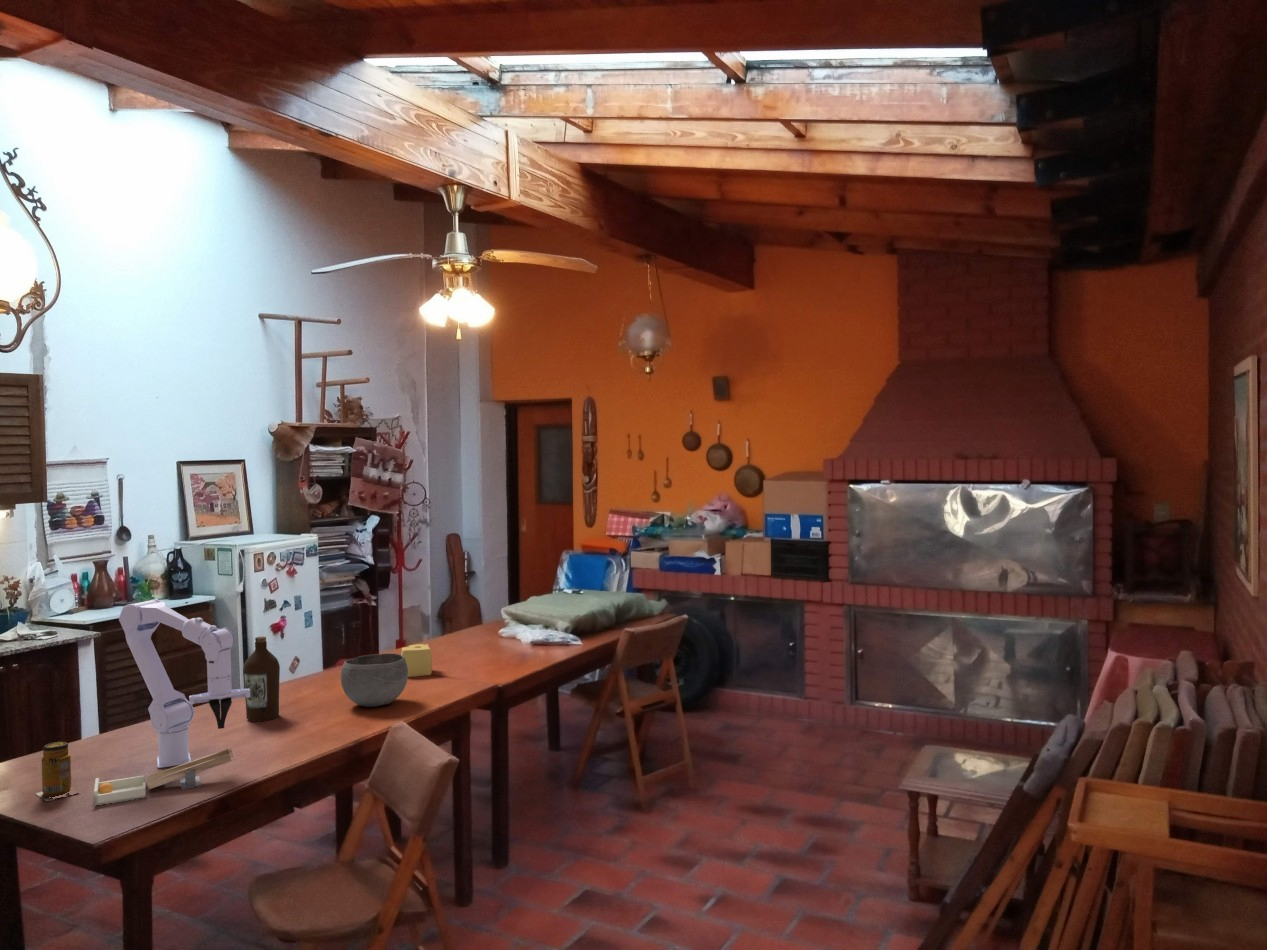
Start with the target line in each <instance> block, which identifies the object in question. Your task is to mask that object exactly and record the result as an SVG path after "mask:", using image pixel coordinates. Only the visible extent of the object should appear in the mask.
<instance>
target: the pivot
mask: <svg viewBox="0 0 1267 950" xmlns="http://www.w3.org/2000/svg"><path fill="white" fill-rule="evenodd" d="M179 781H180V789H185V790H189V788H191V789H195V788H194V787H197V788H201V787H202V783H201V777H200V775H196V773H195V770H190V771H186V777H183V778H180V779H179Z"/></svg>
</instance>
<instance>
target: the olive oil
mask: <svg viewBox="0 0 1267 950" xmlns="http://www.w3.org/2000/svg"><path fill="white" fill-rule="evenodd" d="M254 640H255V641H254V648H255V649H254V651H253V652H252V653H251V654H250V655H249V657H247V658H246V660H245V662H244V665H243V667H242V668H243V669H242V674H243V684H244V689H248V688H249V689H250V697H244V698H245V713H246V720H247V719H248V720H247V721H249V720H251V721H250V722H265V721H264V720H266V721H271V720H274V719H276V717H277V718H278V717H279V715H280V675H281V674H280V673H281V672H280V670H281V669H280V668H281V667H280V666H281V665H280V663H279V660H278V658H277V657H276V656H275V655H274V654H273V653H272V652H271V651H269V649H268V647H267V646H268V643H267V636H257V637H255V638H254ZM270 719H271V720H270Z"/></svg>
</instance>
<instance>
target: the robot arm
mask: <svg viewBox="0 0 1267 950" xmlns="http://www.w3.org/2000/svg"><path fill="white" fill-rule="evenodd" d="M118 621H119V623H120V625H121V628H122V630H123V632H124V635H125V641H126V643H127V646H128V648H129V650H130V651H131V654H132V656H133V659H134V661H135V663H136V665H137V667H138V669H139V671H140V674H141V676H142V678H143V680H144V683H145V685H146V687H147V689H148V691H149V693H150V695H151V698H152V701H151V703H150V705H149V706H148V708H147V711H148V713H149V716H150V724H151V726H152V728H153V729H154V730H155V733H157V741H158V756H157V757H156V765H157V768H158V769H161V768H168V767H176V766H179V765H182V764H185V763H188V762H191V761H192V759H191V754H190V753H191V752H189V728H188V727H189V726H190V725H191V721H193V719H194V717H195V709H194V706H193V705H195V704H200V703H208V704H209V707H210V708H211V710H212V712H213V714H214V718H215V720H216V725H217V729H218V730H220V729H221V730H222V729H225V723H226V718H227V717H228V716H227V715H228V712H229V710H230V708H231V706H232V703H233V699H240V698H245V697H250V689H249V688H248V689H245V688H238V689H237V688H236V689H233V688H232V687H233V686H232V657H231V655H232V654H231V653H232V652H231V649H232V648H233V647H234V646H235V644H236V636H235V634H234V632H233V631H232V630H231V629H229V628H228V627H221V628H218V627H217V625H215V624H213V625H211V624H209V623H207V622H206V621H204V619H203V618H202V617H193V618H190V619H188V618H187V617H186V616H184V615H182V614H180V613H179V612H177V611H176V610H174V609H172V608H170V607H169V606H168V605H167V603H166V602H164V601H161V600H159V599H157V598H153V599H150V600H146V601H142V602H135V603H129V604H126V605H124V606H123V607H122V608H121V611H120V615H119V617H118ZM160 623H161V624H163V625H165V626H168V627H170V628H173V629H175V630H178V631H180V632H181V635H182V637H183V638H184V639H187V640H188V641H190V642H192V643H194V644H196V645H198V646H200V647H201V650H202V651H203V653H204V657H205V658H204V659H205V660H206V670H207V672H206V673H207V675H206V676H207V677H206V678H207V692H204V693H202V692H201V693H198V694H192V695H189V696H188V699H187V698H186V696H185V693H182V692H180V691H179V690H176V689H174V686H173V684H172V681H171V680H170V677H169V676H168V674H167V671H166V669H165V667H164V665H163V663H162V661H161V658H160V656H159V654H158V652H157V649H156V648H155V645H154V643H153V640H152V635H153V633H154V632H155V631H156V630H157V628H158V627H159V625H160Z"/></svg>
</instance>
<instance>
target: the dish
mask: <svg viewBox="0 0 1267 950" xmlns="http://www.w3.org/2000/svg"><path fill="white" fill-rule="evenodd" d="M104 783H110V784H111V785H112V786H113V791H112V792H111V793H105V794H100V793H99V787H100V786H101V785H102V784H104ZM146 790H147V789H146V775H139V776H138V775H137V776H132V777H124V778H118V779H112V780H105V781H100V777H96V778H95V781H94V789H93V799H94V802H93V803H94V807H97V806H96V805H100V806H103V805H102V804H106V805H110V804H109V803H112V804H117V802H118V803H122V802H123V801H124V802H130V801H135V799H136V800H140V799H139V798H142V799H145V798H144V797H147V794H146V792H147V791H146ZM129 800H130V801H129Z"/></svg>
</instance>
